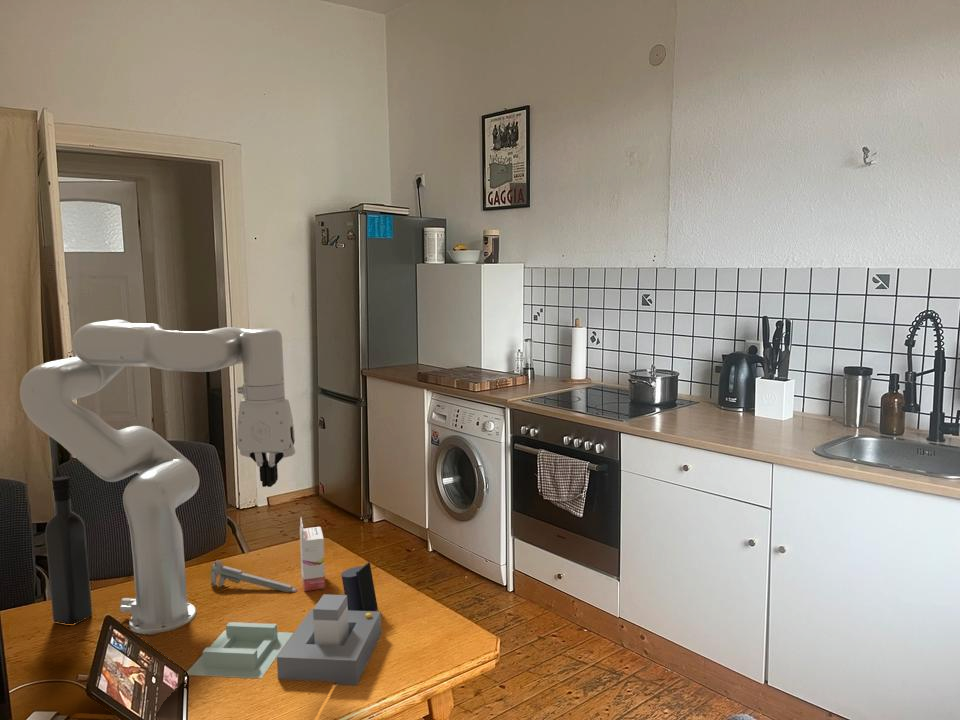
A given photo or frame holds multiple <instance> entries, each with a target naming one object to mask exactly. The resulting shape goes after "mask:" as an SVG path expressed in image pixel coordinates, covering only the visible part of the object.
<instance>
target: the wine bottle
mask: <svg viewBox="0 0 960 720" xmlns="http://www.w3.org/2000/svg"><path fill="white" fill-rule="evenodd" d="M51 481H52V490H53V495H54V508H55V513H54V515H53V516H51V518H50V519H49V520H48V522H47V524H46V526H45V532H44V536H45V545H46V546H45V547H46V555H47V556H46V559H47V565H48V566H47V567H48V578H49V589H50V600H51V601H50V602H51V610H52V611H51V612H52V620H53V621H54V622H59V623H65V624H74V623H77V622H79V621H81V620H83V619H84V618H86V617H88V616H90V615H92V616H93V606H92V596H91V585H90V584H91V581H90V571H89V559H88V549H87V548H88V547H87V537H86V535H87V534H86V526H85V523H84V520H83V519H82V517H81V516H80V515H79V514H77V513H76V512H74V511H72V504H71V503H72V502H71V492H70V491H71V490H70V488H71V484H70V477H69V476H64V475H63V476H58V477H54V478H52V479H51ZM90 617H91V616H90ZM83 621H84V620H83ZM54 622H53V623H54Z"/></svg>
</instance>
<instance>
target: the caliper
mask: <svg viewBox="0 0 960 720" xmlns="http://www.w3.org/2000/svg"><path fill="white" fill-rule="evenodd" d="M223 562H224V561H223V560H221V562H220V560H219V559H216V560H215V561H214V563H213V564H212V565H211V569H210V585H211V586H212V587H214V586H216V584H217V579H218V575H219V580H218V587H219V588H221V587H222V586H224V583H225V582H226V579H227V580H229V581H231V582H234V583H236V584H238V583H240V582H241V581H242V582H246V583H249V584H253V585H257V586H260V587H265V588H268V589H271V590H272V589H273V590H275V591H278V592H283V593H285V592H286V593H290V592H291V593H296V592H297V591H298V589H297V588H294V587H293V585H291V584H288V583H283V582H280V581H277V580H273V579H268V578H264V577H261V576H257V575H254V574H250V573H245V572H243V570H241V569H238V568H233V567H231V566H226V565H223Z"/></svg>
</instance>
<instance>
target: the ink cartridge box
mask: <svg viewBox="0 0 960 720" xmlns="http://www.w3.org/2000/svg"><path fill="white" fill-rule="evenodd" d="M299 522H300V524H299V545H300V548H299V549H300V567H301V568H300V569H301V571H300V572H301V574H300V575H301V581H302V586H303V591H304V592H308V591H316V590H317V591H318V590H323V589H326V572H325V569H326V568H325V546H324V545H325V543H324V542H325V539H324V533H323V530H322V527H321V526H316V527H315V526H313V527H306V528H304V524H303V518H302V517H300V519H299Z"/></svg>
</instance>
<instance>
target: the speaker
mask: <svg viewBox="0 0 960 720" xmlns="http://www.w3.org/2000/svg"><path fill="white" fill-rule="evenodd" d="M340 575H341V580H342V587H343V592H344V595H347V603H348V610H350V611H378V610H379V608H378V602H377V595H376V590H375V589H376V588H375V585H374V583H375V582H374V579H373V573H372V567H371V562H370V561H368V562H366V563H365V564H364V565H363V566H362V565H359V566H355V567H351V568H348V569H346V570H343V571H342V572H341V573H340Z"/></svg>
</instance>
